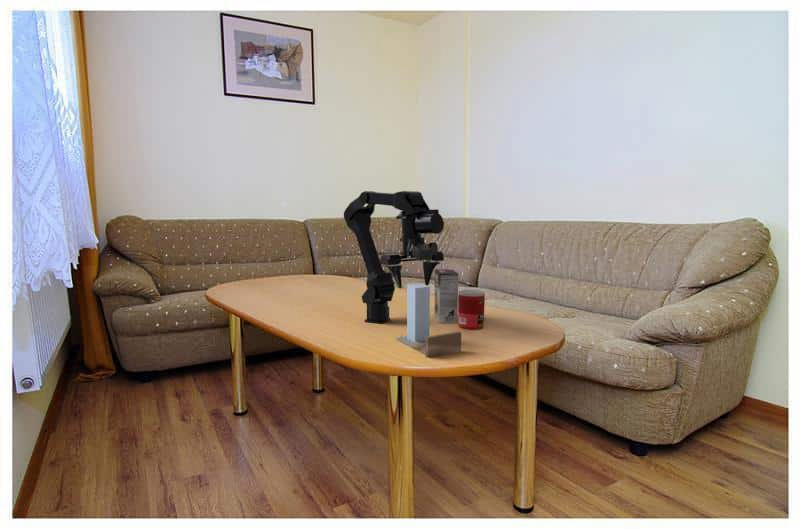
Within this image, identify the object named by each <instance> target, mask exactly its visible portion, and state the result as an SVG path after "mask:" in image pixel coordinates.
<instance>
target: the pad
mask: <svg viewBox="0 0 800 529" xmlns="http://www.w3.org/2000/svg"><path fill="white" fill-rule="evenodd" d="M396 341H398V342H400V343H402V344H404V345H406V346H408V347H410V348H412V341H410V340H409V339H407V335H406V336H399V337H396ZM418 343H420V344H422V345H424V346H425V341H424V342H418Z"/></svg>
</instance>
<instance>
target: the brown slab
mask: <svg viewBox="0 0 800 529" xmlns="http://www.w3.org/2000/svg"><path fill="white" fill-rule="evenodd" d="M411 348H412V349H413V350H416V351H418V352H419V353H421V354H423V355H425V357H426V358H433V357H438V356H444V355H445V356H446V355H449V354H455V353H461V352H462V332H461V331H453V332H447V333H440V334H439V333H438V334H435V335H429V336H426V337H425V346H424V345H422V344H420V343H418V342H412V347H411Z"/></svg>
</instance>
